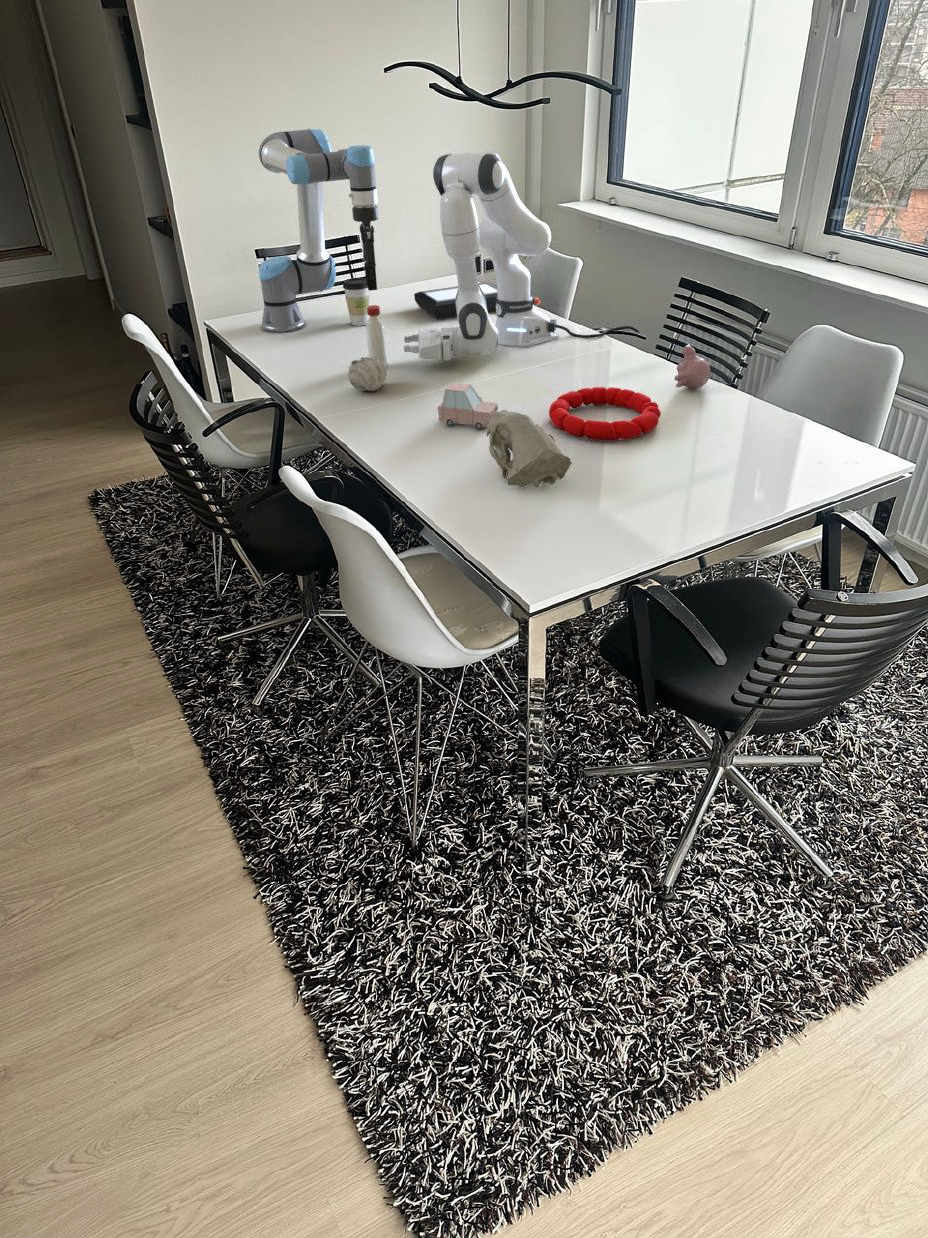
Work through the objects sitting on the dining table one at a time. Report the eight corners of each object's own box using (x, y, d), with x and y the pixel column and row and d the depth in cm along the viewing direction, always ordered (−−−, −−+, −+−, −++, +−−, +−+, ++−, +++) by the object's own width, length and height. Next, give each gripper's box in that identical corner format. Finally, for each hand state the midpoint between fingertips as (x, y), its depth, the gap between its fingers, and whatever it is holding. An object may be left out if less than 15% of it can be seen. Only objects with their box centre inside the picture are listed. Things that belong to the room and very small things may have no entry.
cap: (374, 311, 281) (373, 304, 279) (382, 313, 278) (382, 306, 277) (365, 314, 278) (364, 307, 277) (373, 316, 276) (373, 309, 275)
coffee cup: (372, 326, 323) (368, 283, 314) (345, 327, 323) (340, 284, 315) (374, 318, 331) (371, 276, 322) (348, 319, 331) (344, 277, 323)
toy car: (488, 432, 240) (488, 396, 234) (436, 426, 244) (434, 390, 239) (499, 419, 247) (499, 384, 241) (448, 413, 252) (447, 379, 246)
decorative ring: (589, 435, 224) (684, 402, 234) (527, 398, 247) (617, 369, 256) (589, 461, 229) (683, 427, 238) (529, 422, 251) (617, 393, 260)
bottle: (378, 361, 291) (373, 304, 281) (390, 365, 288) (386, 307, 277) (366, 366, 287) (360, 308, 277) (378, 369, 284) (373, 311, 274)
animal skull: (496, 517, 219) (521, 479, 201) (463, 429, 225) (484, 384, 207) (557, 503, 225) (586, 465, 206) (523, 417, 231) (549, 373, 212)
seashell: (340, 389, 270) (336, 357, 264) (385, 380, 276) (382, 348, 270) (353, 400, 262) (350, 366, 257) (399, 390, 268) (397, 357, 262)
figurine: (665, 387, 264) (669, 347, 257) (693, 380, 268) (698, 340, 261) (686, 396, 257) (690, 355, 250) (714, 388, 262) (720, 348, 255)
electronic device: (434, 303, 323) (414, 291, 338) (435, 321, 326) (415, 307, 341) (513, 291, 333) (490, 280, 348) (512, 308, 336) (490, 296, 352)
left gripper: (349, 200, 268) (356, 280, 281) (354, 212, 252) (362, 295, 265) (374, 198, 269) (380, 278, 282) (380, 210, 253) (387, 294, 266)
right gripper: (446, 322, 291) (403, 324, 291) (447, 341, 274) (403, 343, 274) (446, 341, 295) (405, 343, 294) (448, 362, 278) (404, 363, 277)
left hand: (371, 286), depth 274 cm, fingers open, 6 cm apart
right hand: (404, 343), depth 284 cm, fingers open, 8 cm apart
